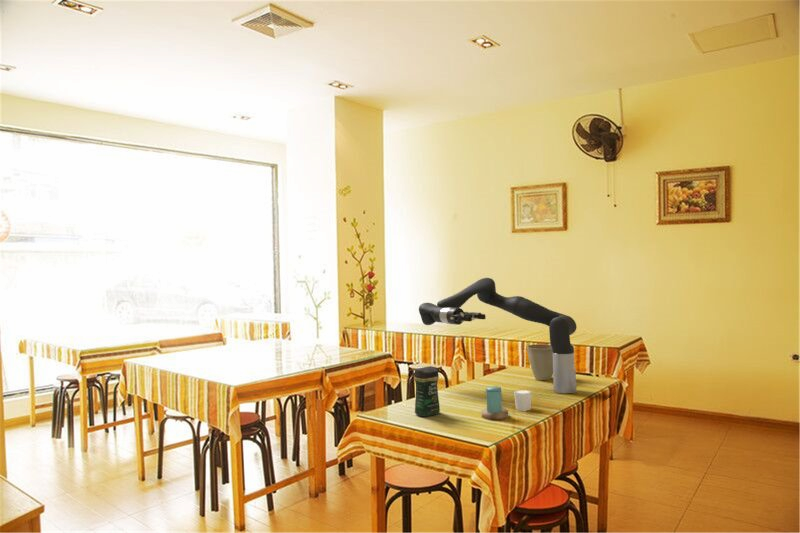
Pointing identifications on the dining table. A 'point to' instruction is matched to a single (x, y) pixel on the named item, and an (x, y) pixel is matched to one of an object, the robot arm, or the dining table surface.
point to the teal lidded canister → (494, 399)
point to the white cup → (523, 400)
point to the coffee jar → (426, 391)
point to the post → (495, 415)
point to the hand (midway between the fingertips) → (478, 317)
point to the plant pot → (541, 361)
